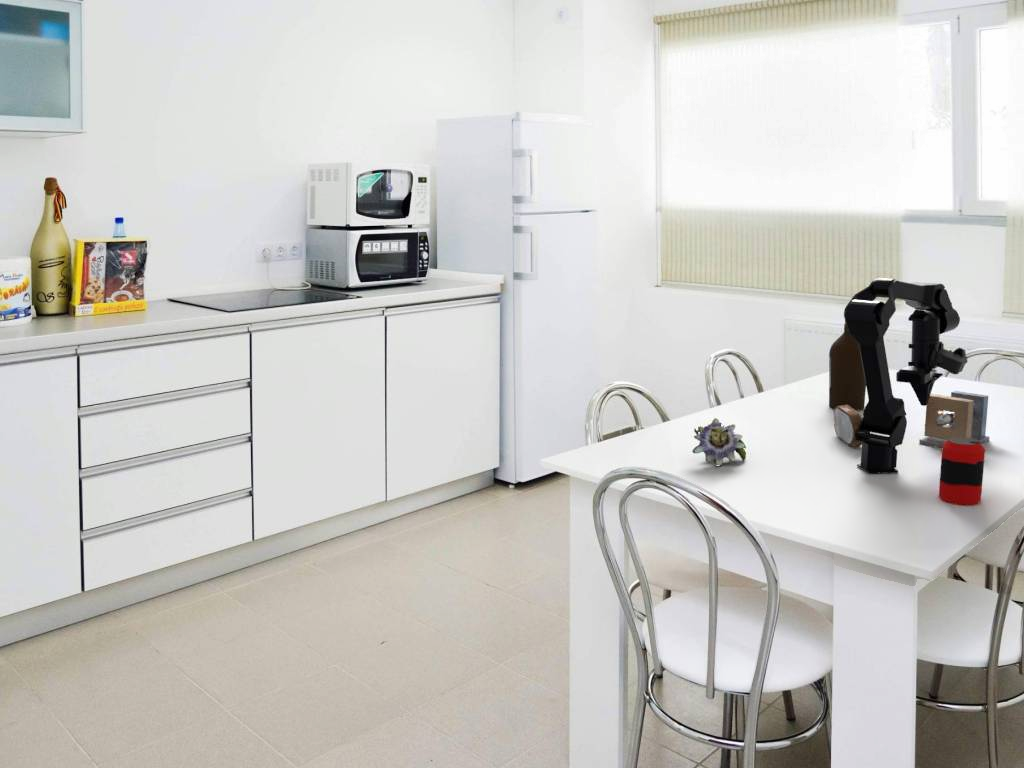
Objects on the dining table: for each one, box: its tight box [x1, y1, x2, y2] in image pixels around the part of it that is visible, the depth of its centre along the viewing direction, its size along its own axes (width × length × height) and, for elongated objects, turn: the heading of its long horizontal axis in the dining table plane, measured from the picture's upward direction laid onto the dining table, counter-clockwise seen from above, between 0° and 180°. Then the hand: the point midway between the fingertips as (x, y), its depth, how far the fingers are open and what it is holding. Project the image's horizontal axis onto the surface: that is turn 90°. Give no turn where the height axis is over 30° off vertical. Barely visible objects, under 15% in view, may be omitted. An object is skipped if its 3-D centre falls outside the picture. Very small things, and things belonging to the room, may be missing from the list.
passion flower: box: [691, 417, 747, 466], centre depth 217 cm, size 11×11×12 cm
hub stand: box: [918, 390, 991, 449], centre depth 229 cm, size 14×10×11 cm
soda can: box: [938, 437, 986, 506], centre depth 186 cm, size 8×8×12 cm
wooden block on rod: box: [923, 393, 974, 440], centre depth 226 cm, size 2×10×10 cm, turn 39°
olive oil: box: [828, 321, 867, 411], centre depth 266 cm, size 11×11×25 cm
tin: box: [833, 405, 863, 447], centre depth 231 cm, size 15×3×8 cm, turn 179°
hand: (924, 405), depth 217 cm, fingers closed
